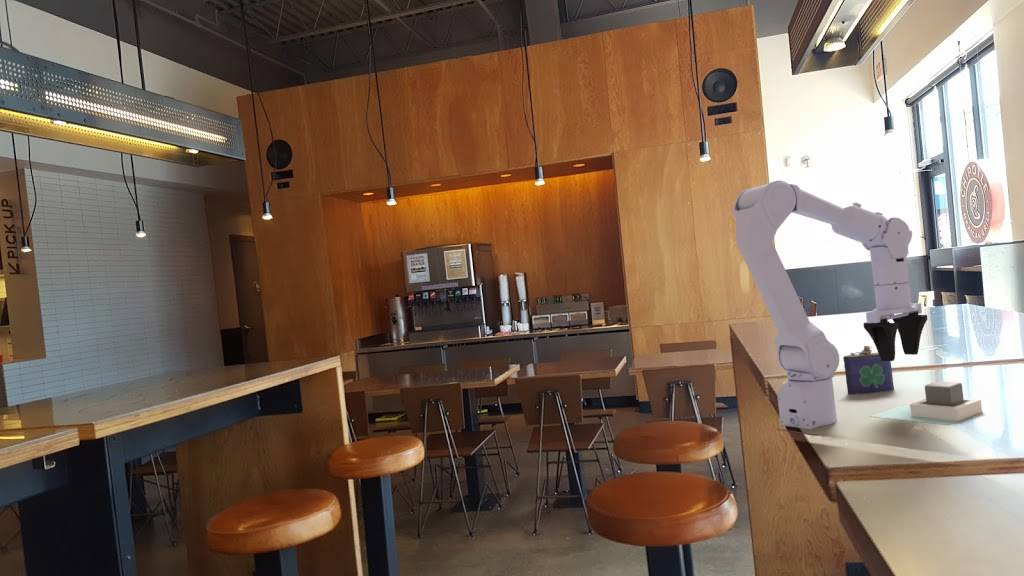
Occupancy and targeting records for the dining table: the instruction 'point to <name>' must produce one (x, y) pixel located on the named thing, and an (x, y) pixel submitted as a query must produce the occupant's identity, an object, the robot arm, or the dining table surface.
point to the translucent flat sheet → (905, 414)
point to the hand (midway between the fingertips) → (899, 357)
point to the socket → (946, 410)
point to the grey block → (944, 393)
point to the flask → (867, 373)
